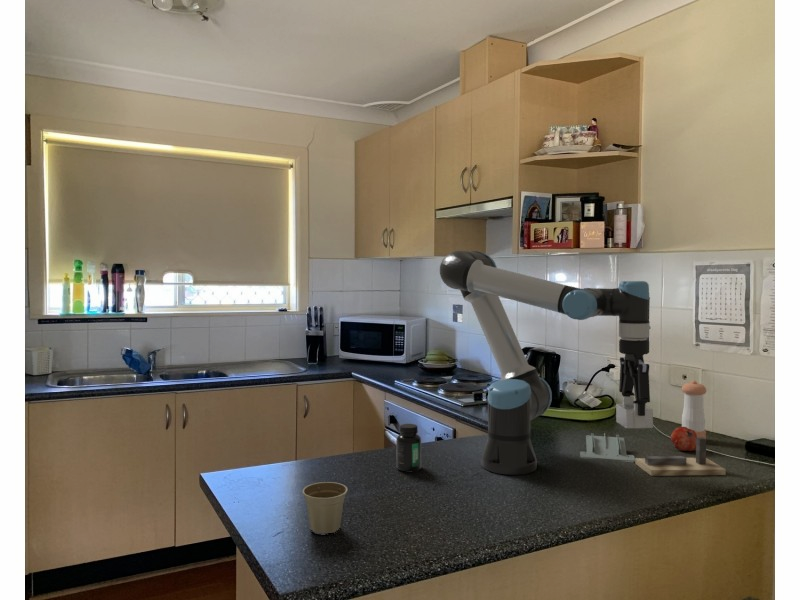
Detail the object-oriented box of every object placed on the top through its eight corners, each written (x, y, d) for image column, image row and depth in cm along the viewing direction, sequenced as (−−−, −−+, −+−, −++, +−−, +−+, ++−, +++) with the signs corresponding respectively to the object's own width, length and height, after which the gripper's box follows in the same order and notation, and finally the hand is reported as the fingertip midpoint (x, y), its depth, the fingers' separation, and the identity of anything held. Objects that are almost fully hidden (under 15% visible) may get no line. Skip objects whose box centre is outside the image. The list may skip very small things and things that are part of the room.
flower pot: (349, 520, 129) (348, 481, 129) (346, 539, 120) (346, 497, 119) (306, 520, 129) (305, 481, 128) (300, 540, 120) (299, 498, 119)
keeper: (651, 475, 156) (651, 444, 156) (635, 463, 166) (635, 433, 166) (725, 474, 156) (726, 443, 156) (705, 462, 166) (705, 433, 166)
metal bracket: (579, 428, 183) (630, 431, 179) (578, 444, 185) (629, 448, 181) (580, 454, 170) (635, 458, 166) (579, 471, 172) (634, 476, 168)
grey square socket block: (626, 428, 155) (626, 409, 154) (616, 421, 162) (616, 403, 161) (652, 427, 155) (652, 408, 155) (641, 421, 162) (641, 403, 162)
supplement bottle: (421, 472, 159) (421, 429, 159) (396, 472, 159) (396, 429, 159) (420, 464, 166) (420, 422, 166) (396, 464, 166) (396, 422, 166)
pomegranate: (666, 454, 181) (676, 442, 173) (665, 432, 185) (675, 419, 177) (692, 458, 180) (703, 446, 172) (690, 436, 184) (701, 423, 176)
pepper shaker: (675, 438, 190) (676, 379, 189) (691, 435, 193) (692, 378, 192) (695, 444, 184) (696, 383, 183) (710, 441, 187) (712, 381, 186)
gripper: (665, 342, 147) (664, 433, 148) (633, 334, 167) (632, 414, 168) (635, 343, 147) (634, 433, 148) (606, 335, 167) (606, 415, 168)
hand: (633, 423), depth 158 cm, fingers closed on grey square socket block, 7 cm apart
